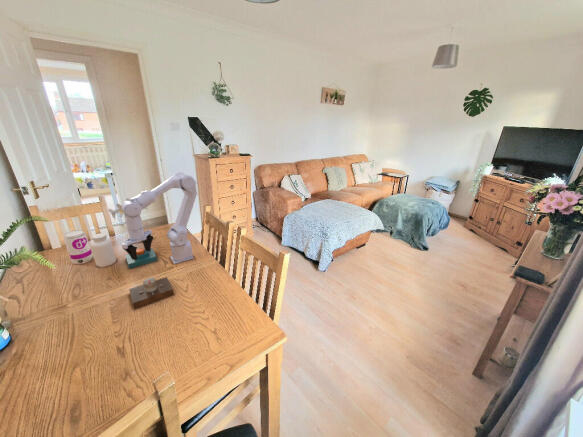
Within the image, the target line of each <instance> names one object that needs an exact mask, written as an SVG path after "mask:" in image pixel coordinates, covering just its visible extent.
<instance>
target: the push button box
mask: <svg viewBox="0 0 583 437" xmlns="http://www.w3.org/2000/svg"><path fill="white" fill-rule="evenodd" d="M143 249H144V253H143V254H141V255H137V260H132V258H131V256H130V255H129V254H128V253H127V254H125V259H126V262H127V266H128V269H129V270H131V269H134V268H137V267H142V266H144V265H148V264H151V263H154V262H158V258H157V255H156V253H155V251H154V249H153V248H151V249H150V251H146V250H145V248H143Z"/></svg>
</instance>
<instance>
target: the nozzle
mask: <svg viewBox="0 0 583 437" xmlns="http://www.w3.org/2000/svg"><path fill="white" fill-rule="evenodd" d="M144 249H145V248H141V247H140V248H137V250H136V253H137V255H141V254H143V253H144Z"/></svg>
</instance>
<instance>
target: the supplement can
mask: <svg viewBox="0 0 583 437" xmlns="http://www.w3.org/2000/svg"><path fill="white" fill-rule="evenodd" d="M62 239H63V242H64V245H65V247H66V251H67V253H68V256H69V259H70V261H71V263H72V264H74V265H82V264H86V263H88V262H90V261H91V260H93V259H94V256H93V253H92V249H91V246H90V242H89V239H88V236H87V233H86V232H85V231H84V230H82V229H75V230H71V231H67V232H66V233H64V234H63V237H62Z"/></svg>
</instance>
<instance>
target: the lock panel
mask: <svg viewBox="0 0 583 437" xmlns="http://www.w3.org/2000/svg"><path fill="white" fill-rule="evenodd" d="M156 284H157V289H156V290H155V291H153V292H149V293H148V292H145V289H144V285H143V284H140V285H137V286H135V287H132V288H129V289H128V290H129V295H130V299H131V302H132V306H133V310H137V309H140V308H143V307H145V306H148V305H150V304H153V303H156V302H158V301H159V302H160V301H161V300H164V299H167V298H169V297H172V296H174V295H175V293H174V288H173V286H172V285H171V282H170V280H169V278H168V276H166V277H162V278H159V279H156Z"/></svg>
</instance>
